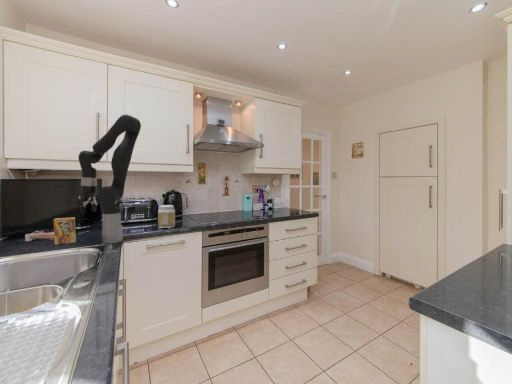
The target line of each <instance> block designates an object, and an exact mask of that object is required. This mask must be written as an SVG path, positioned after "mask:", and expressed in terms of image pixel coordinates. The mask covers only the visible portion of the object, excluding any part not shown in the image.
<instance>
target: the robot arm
mask: <svg viewBox="0 0 512 384" xmlns="http://www.w3.org/2000/svg"><path fill="white" fill-rule="evenodd" d="M141 126H142V125H141V121H140V120H139V119H138V118H136V117H134V116H132V115H130V114H122V115H120V116H119V117H118V118H117V120H116V121H115V122H114V124H112V126H111V127H110V128H109V129H108V131H107V132H106V133H105V134H104V135H103V136H102V137H101V138H100V139H98V141H96V142H95V143H94V144H93V145H92V151H91V150H82V151H80V152H79V153H78V162H79V165H80V168H81V180H80V193H81V195H77V196H76V197H77V200H76V202H77V203H76V207H80V208H79V210H80V214H86V205H88V204H89V203H91V211H92V212H97V206H98V205H100V206H99V208H100V210H101V212H102V213H101V214H102V218H101V219H102V243H103V244H106V245H109V244H118V243H119V242H123V241H124V227H123V224H122V214H121V213H122V212H121V211H122V209H121V207H119V206H117V203H116V202H118V201H120V200H122V198H123V196H124V193H125V192H124V191H125V184H126V179H127V175H128V171H129V167H130V163H131V161H132V156H133V151H134V148H135V144H136V142H137V139H138V137H139V134H140V131H141V128H142V127H141ZM121 134H124V137H123V139H122V141H121V142H120V143H119V144H118V145H117V147H116V148H115V150H114V151H113V153H112V157H111V162H110V164H111V171H112V174H113V178H112V182H111V185H105V186H103V187H102V188H100V190H99V193H98V194H97V191H98V181H97V180H98V179H97V169H96V168H95V167H93V166H92V164H97V163H99V162H100V161H101V160H102V158H103V157H104V156H105V154H106V153H107V152H108V151H110V150H111V149H112V148H113V147H114V146H115V143H116V141H117V139H118V138H119V136H121Z"/></svg>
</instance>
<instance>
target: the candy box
mask: <svg viewBox="0 0 512 384" xmlns="http://www.w3.org/2000/svg"><path fill="white" fill-rule="evenodd" d="M76 230H77V229H76V217H75V216H74V217H61V218H60V217H59V218H57V217H56V218H54V219H53V233H54V245H64V244H72V243H74V244H73V246H75V245H76V242H77V235H76Z"/></svg>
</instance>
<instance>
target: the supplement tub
mask: <svg viewBox="0 0 512 384" xmlns="http://www.w3.org/2000/svg"><path fill="white" fill-rule="evenodd" d="M174 208H175V207H174V204H173V205H172V204H164V205H163V204H162V205H158V210H157V216H158V219H157V222H158V223H157V226H158V229H161V228H168V229H172V228H171V227H173V228H175V227H176V211H175V209H174ZM174 226H175V227H174Z"/></svg>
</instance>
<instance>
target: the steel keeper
mask: <svg viewBox="0 0 512 384" xmlns="http://www.w3.org/2000/svg"><path fill="white" fill-rule="evenodd" d="M39 232H41V230H35V231H33V233H34V234H31V233H26V234H25V235H24V239H25V242H31V241H33V238H32V236H37V235H43V233H44V232H42V233H39Z"/></svg>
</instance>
